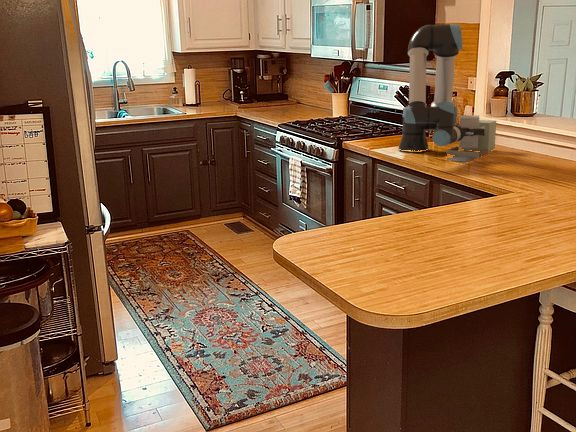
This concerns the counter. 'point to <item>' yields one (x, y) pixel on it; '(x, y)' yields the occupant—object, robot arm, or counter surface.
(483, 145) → the dispenser rack
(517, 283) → the counter surface
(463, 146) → the supplement box
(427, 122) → the robot arm
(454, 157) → the trivet
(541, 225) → the counter surface
